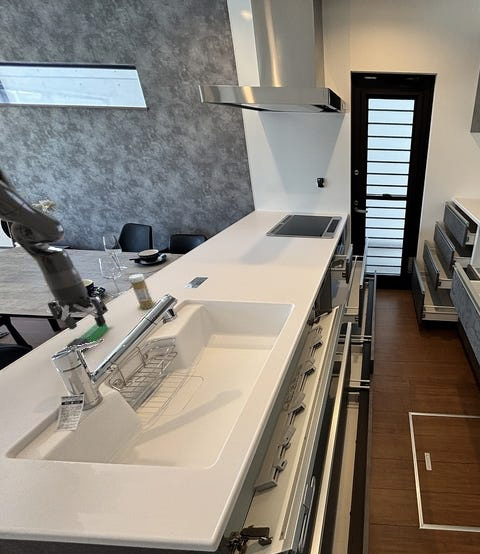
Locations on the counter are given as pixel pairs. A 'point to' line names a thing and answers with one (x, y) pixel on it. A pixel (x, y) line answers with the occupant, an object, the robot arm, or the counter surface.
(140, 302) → the sprinkles bottle
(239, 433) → the counter surface
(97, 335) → the marker
